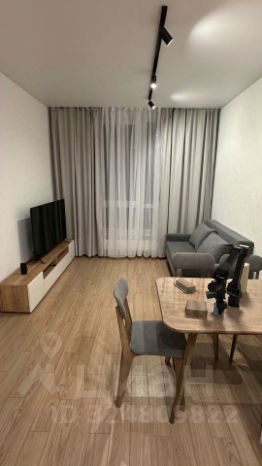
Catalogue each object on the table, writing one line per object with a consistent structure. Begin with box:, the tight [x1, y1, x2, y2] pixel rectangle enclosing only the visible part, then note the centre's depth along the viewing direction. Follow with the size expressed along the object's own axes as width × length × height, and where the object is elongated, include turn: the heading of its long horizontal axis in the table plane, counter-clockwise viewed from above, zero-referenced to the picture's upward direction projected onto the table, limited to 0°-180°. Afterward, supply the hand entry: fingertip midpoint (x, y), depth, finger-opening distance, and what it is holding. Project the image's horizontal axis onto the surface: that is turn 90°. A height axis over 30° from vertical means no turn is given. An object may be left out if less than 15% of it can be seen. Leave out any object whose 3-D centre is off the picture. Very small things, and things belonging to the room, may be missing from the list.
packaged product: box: [172, 277, 198, 294], centre depth 188 cm, size 18×5×10 cm
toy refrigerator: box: [240, 262, 250, 295], centre depth 181 cm, size 8×7×21 cm
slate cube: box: [212, 302, 225, 317], centre depth 152 cm, size 6×6×6 cm
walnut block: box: [185, 299, 209, 318], centre depth 154 cm, size 12×12×4 cm
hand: (218, 311), depth 152 cm, fingers open, 8 cm apart
